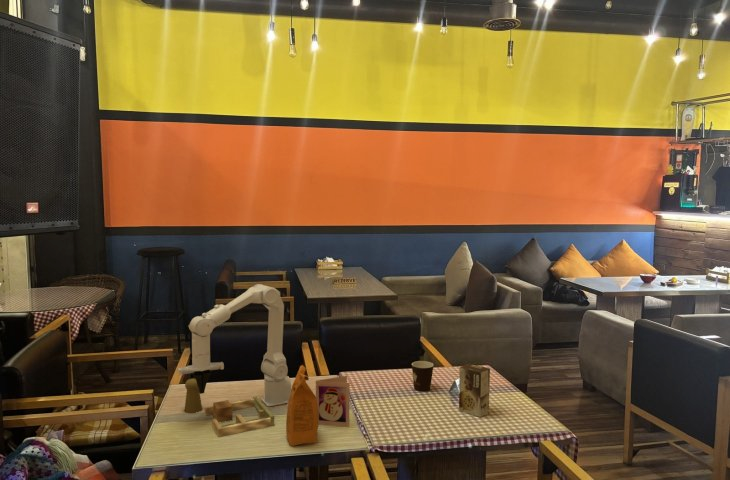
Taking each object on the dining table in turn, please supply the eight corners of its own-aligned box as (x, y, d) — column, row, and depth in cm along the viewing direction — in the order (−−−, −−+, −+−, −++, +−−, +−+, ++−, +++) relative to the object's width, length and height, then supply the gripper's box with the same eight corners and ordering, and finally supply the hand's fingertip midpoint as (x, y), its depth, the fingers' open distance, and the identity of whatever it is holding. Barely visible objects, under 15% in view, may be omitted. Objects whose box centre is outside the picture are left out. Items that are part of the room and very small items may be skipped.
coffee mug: (434, 393, 208) (434, 368, 207) (412, 392, 208) (412, 367, 207) (430, 382, 220) (431, 358, 219) (409, 382, 220) (410, 358, 219)
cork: (196, 414, 186) (196, 383, 185) (180, 412, 187) (180, 381, 186) (205, 407, 192) (204, 377, 191) (189, 405, 193) (189, 376, 192)
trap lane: (256, 404, 195) (256, 396, 194) (274, 425, 178) (274, 416, 177) (204, 414, 186) (204, 405, 186) (218, 436, 169) (218, 427, 168)
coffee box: (489, 412, 190) (491, 368, 189) (480, 418, 185) (481, 372, 184) (467, 405, 196) (468, 362, 195) (457, 410, 192) (459, 366, 190)
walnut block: (227, 414, 187) (227, 400, 186) (232, 420, 181) (232, 406, 181) (213, 416, 184) (213, 402, 184) (217, 423, 179) (217, 408, 178)
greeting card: (314, 425, 178) (315, 381, 177) (319, 416, 185) (320, 374, 184) (348, 427, 176) (349, 383, 175) (352, 418, 184) (352, 376, 182)
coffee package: (316, 428, 176) (316, 363, 174) (319, 446, 164) (319, 375, 162) (286, 430, 174) (285, 364, 172) (286, 448, 162) (286, 377, 160)
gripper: (220, 347, 185) (220, 385, 186) (176, 352, 178) (176, 392, 179) (225, 352, 179) (225, 392, 180) (180, 358, 172) (180, 399, 173)
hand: (201, 392), depth 179 cm, fingers closed
